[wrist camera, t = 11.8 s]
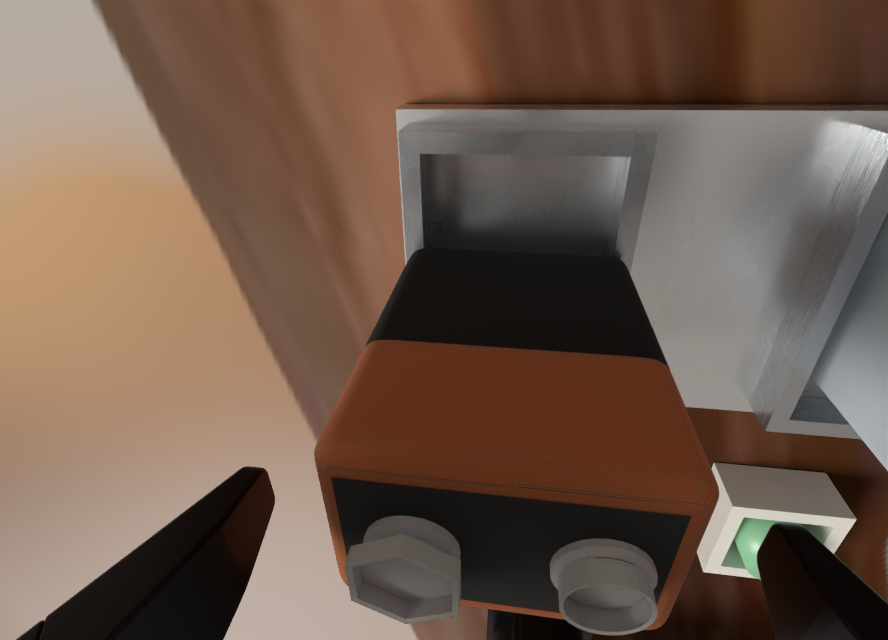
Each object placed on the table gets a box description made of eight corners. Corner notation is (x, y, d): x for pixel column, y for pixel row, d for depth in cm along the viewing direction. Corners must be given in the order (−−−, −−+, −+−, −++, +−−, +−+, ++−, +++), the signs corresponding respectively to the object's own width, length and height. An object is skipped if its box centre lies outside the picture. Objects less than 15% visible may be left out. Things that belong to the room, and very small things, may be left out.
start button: (777, 529, 23) (805, 586, 21) (715, 522, 24) (736, 577, 21) (798, 490, 22) (831, 546, 20) (732, 484, 22) (756, 538, 20)
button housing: (788, 537, 24) (812, 585, 22) (688, 526, 25) (703, 571, 23) (825, 472, 22) (856, 519, 20) (714, 462, 22) (732, 506, 20)
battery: (411, 242, 16) (278, 494, 7) (627, 251, 15) (761, 549, 6) (416, 351, 18) (320, 640, 10) (605, 365, 17) (682, 696, 9)
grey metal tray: (940, 407, 19) (996, 459, 17) (418, 368, 22) (405, 408, 20) (1145, 105, 13) (1273, 121, 11) (403, 103, 16) (383, 117, 14)
